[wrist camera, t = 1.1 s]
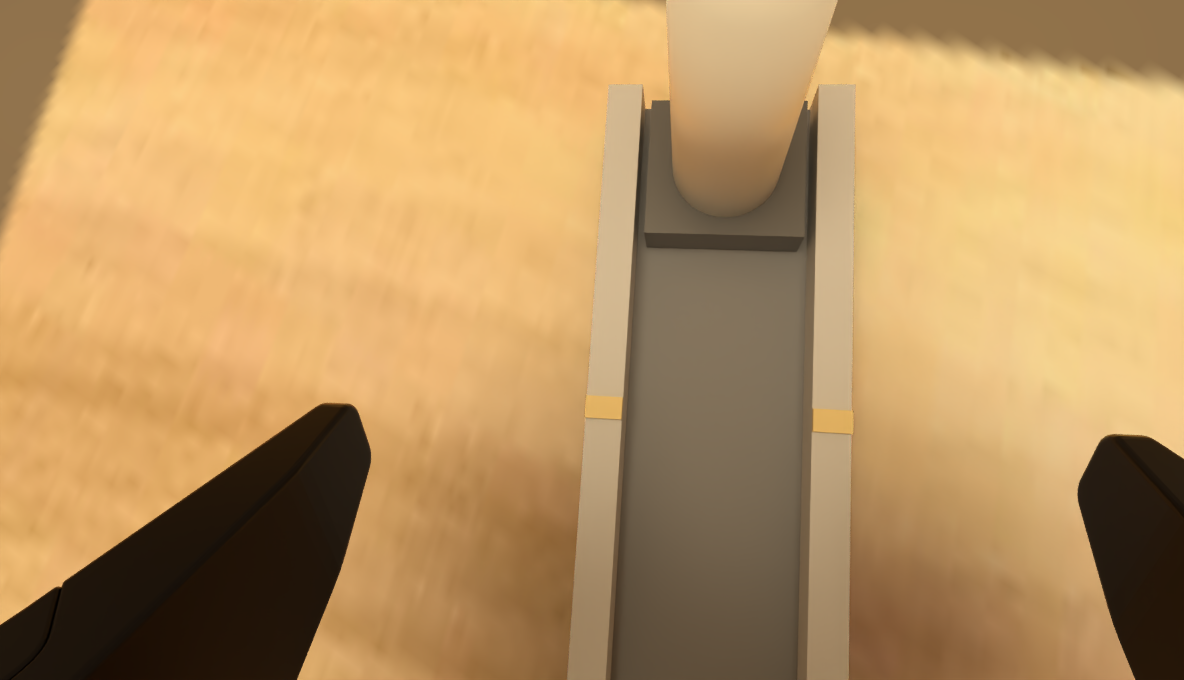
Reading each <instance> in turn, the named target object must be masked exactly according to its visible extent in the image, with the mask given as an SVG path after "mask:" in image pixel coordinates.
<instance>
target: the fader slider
mask: <svg viewBox="0 0 1184 680" xmlns="http://www.w3.org/2000/svg"><path fill="white" fill-rule="evenodd" d="M837 1H838V0H666V13H667V39H668V64H669V90H670V101H652V109H651V125H650V142H649V159H648V175H647V192H646V209H645V226H644V235H645V241H646V246H647V247H662V248H695V249H728V250H761V251H794V252H797V250H798V248H799V246H800V244H801V243H802V241H803V239H804V236H805V192H806V148H807V104H808V101H805V98H806V95H807V92H808V89H809V86H810V83H811V79H812V76H813V73H814V70H815V67H816V64H817V61H818V58H819V55H820V52H821V49H822V46H823V43H824V40H825V37H826V34H827V31H828V28H829V25H830V22H831V19H832V16H833V13H834V10H835V7H836V4H837Z"/></svg>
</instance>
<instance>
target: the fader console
mask: <svg viewBox="0 0 1184 680" xmlns="http://www.w3.org/2000/svg"><path fill="white" fill-rule="evenodd" d="M650 125H651V109H645V101H644V92H643V85H609V89H608V103H607V117H606V131H605V145H604V160H603V174H602V188H601V202H600V216H599V231H598V245H597V259H596V273H595V287H594V302H593V316H592V330H591V344H590V358H589V373H588V387H587V395H586V401H585V415H584V417H585V430H584V444H583V458H582V472H581V486H580V501H579V515H578V529H577V543H576V557H575V572H574V586H573V600H572V614H571V628H570V643H569V657H568V671H567V680H849V609H850V521H851V434H853V411H852V345H853V257H854V169H855V85H819V86H818V88H817V91H816V94H815V97H814V100H813V102H812V105H811V108H810V110H807V148H806V192H805V236H804V239H803V241H802V243H801V244H800V246H799V248H798V250H797V252H794V251H761V250H728V249H695V248H662V247H647V246H646V241H645V235H644V226H645V209H646V192H647V175H648V159H649V142H650Z"/></svg>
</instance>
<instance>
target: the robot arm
mask: <svg viewBox="0 0 1184 680" xmlns="http://www.w3.org/2000/svg"><path fill="white" fill-rule="evenodd" d="M370 463H371V450H370V446H369V443H368V440H367V437H366V434H365V431H364V428H363V425H362V422H361V419H360V416H359V413H358V411H357V409H356V408H355V407H354V406H353V405H351V404H344V403H323V404H320V405H319V406H317V407H315V408H314V409H312V410H311V411H309V412H308V413H307V414H305V415H304V416H302V417H301V418H299V419H298V420H296V421H295V422H294V423H292V424H291V425H289V426H288V427H286V428H285V429H283V430H282V431H281V432H279V433H278V434H276V435H275V436H273V437H272V438H270V439H269V440H268V441H266V442H265V443H263V444H262V445H260V446H259V447H257V448H256V449H255V450H253V451H252V452H250V453H249V454H247V455H246V456H244V457H243V458H242V459H240V460H239V461H237V462H236V463H234V464H233V465H231V466H230V467H229V468H227V469H226V470H224V471H223V472H221V473H220V474H219V475H217V476H216V477H214V478H213V479H211V480H210V481H208V482H207V483H206V484H204V485H203V486H201V487H200V488H198V489H197V490H195V491H194V492H193V493H191V494H190V495H188V496H187V497H185V498H184V499H182V500H181V501H180V502H178V503H177V504H175V505H174V506H172V507H171V508H169V509H168V510H167V511H165V512H164V513H162V514H161V515H159V516H158V517H156V518H155V519H154V520H152V521H151V522H149V523H148V524H146V525H145V526H143V527H142V528H141V529H139V530H138V531H136V532H135V533H133V534H132V535H130V536H129V537H128V538H126V539H125V540H123V541H122V542H120V543H119V544H117V545H116V546H115V547H113V548H112V549H110V550H109V551H107V552H106V553H104V554H103V555H102V556H100V557H99V558H97V559H96V560H94V561H93V562H91V563H90V564H89V565H87V566H86V567H84V568H83V569H81V570H80V571H78V572H77V573H76V574H74V575H73V576H71V577H70V578H68V579H67V580H65V581H64V582H63V585H62V587H55V588H54V589H52V590H51V591H49V592H48V593H46V594H45V595H44V596H42V597H41V598H39V599H38V600H36V601H35V602H33V603H32V604H31V605H29V606H28V607H26V608H25V609H23V610H22V611H20V612H19V613H17V614H16V615H14V616H13V617H11V618H10V619H8V620H7V621H5V622H4V623H2V624H1V625H0V680H297V678H298V675H299V673H300V671H301V668H302V666H303V663H304V661H305V658H306V656H307V653H308V651H309V648H310V646H311V643H312V641H313V638H314V636H315V633H316V631H317V628H318V626H319V623H320V621H321V618H322V616H323V613H324V611H325V609H326V606H327V604H328V601H329V599H330V596H331V594H332V591H333V589H334V586H335V583H336V581H337V578H338V575H339V573H340V570H341V567H342V564H343V560H344V557H345V554H346V550H347V547H348V543H349V540H350V536H351V533H352V529H353V525H354V522H355V518H356V515H357V511H358V507H359V504H360V500H361V497H362V493H363V490H364V486H365V482H366V479H367V475H368V472H369V468H370ZM1078 502H1079V507H1080V510H1081V514H1082V517H1083V521H1084V524H1085V528H1086V531H1087V535H1088V539H1089V542H1090V546H1091V549H1092V553H1093V556H1094V560H1095V563H1096V567H1097V570H1098V574H1099V578H1100V581H1101V585H1102V588H1103V592H1104V595H1105V599H1106V602H1107V606H1108V609H1109V612H1110V615H1111V618H1112V621H1113V625H1114V627H1115V630H1116V633H1117V635H1118V638H1119V640H1120V643H1121V646H1122V648H1123V651H1124V653H1125V655H1126V658H1127V660H1128V663H1129V665H1130V668H1131V670H1132V672H1133V675H1134V677H1135V680H1184V459H1183V458H1182V457H1180V456H1179V455H1177V454H1175V453H1174V452H1172V451H1171V450H1169V449H1168V448H1166V447H1165V446H1163V445H1162V444H1160V443H1159V442H1157V441H1156V440H1154V439H1152V438H1150V437H1147V436H1142V435H1122V434H1111V435H1107V436H1105V437H1104V438H1103V439H1102V440H1101V441H1100V442H1099V444H1098V446H1097V448H1096V450H1095V452H1094V454H1093V456H1092V458H1091V460H1090V462H1089V464H1088V466H1087V468H1086V470H1085V472H1084V474H1083V476H1082V478H1081V480H1080V482H1079V486H1078Z"/></svg>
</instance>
